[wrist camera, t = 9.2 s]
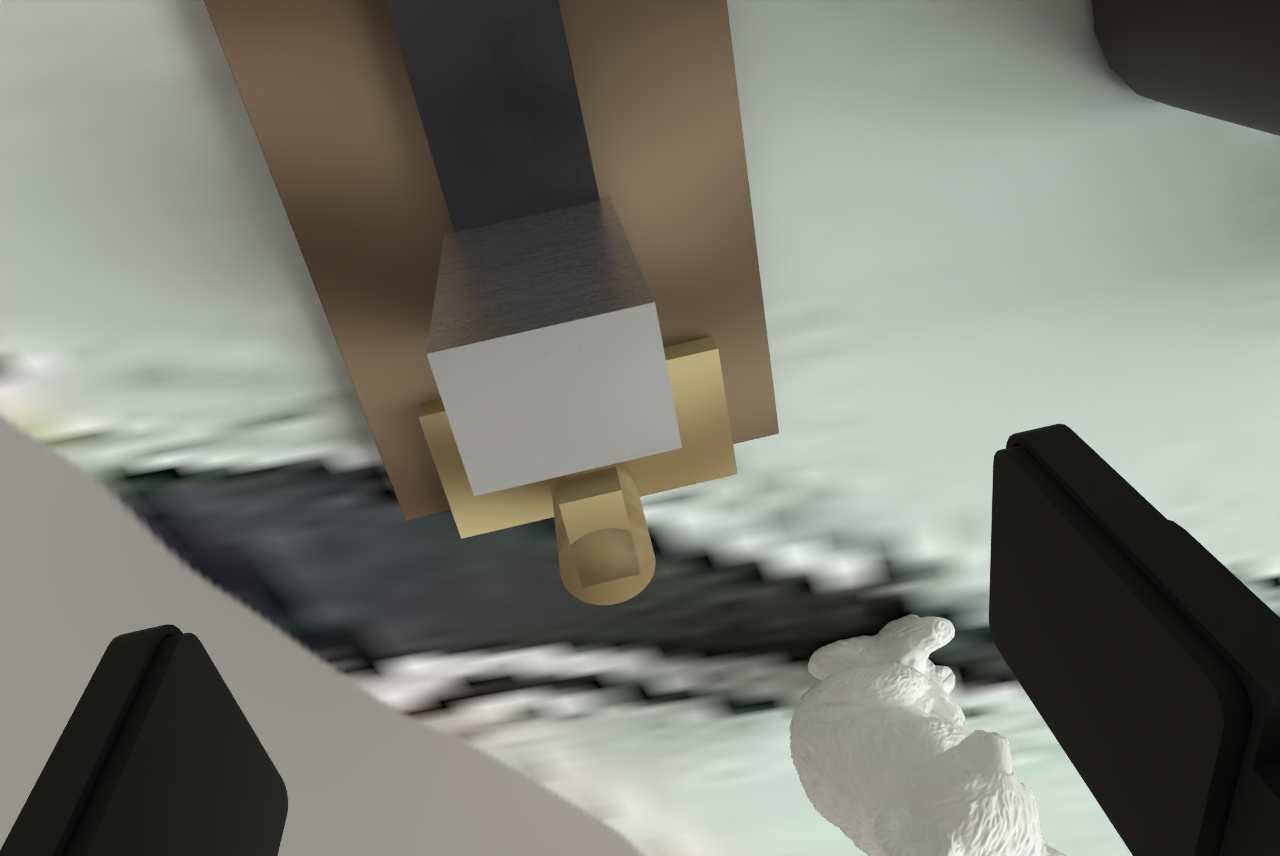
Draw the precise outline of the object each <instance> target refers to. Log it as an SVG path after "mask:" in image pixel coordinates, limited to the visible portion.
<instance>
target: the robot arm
mask: <svg viewBox="0 0 1280 856" xmlns="http://www.w3.org/2000/svg"><path fill="white" fill-rule="evenodd" d="M989 625H990V630H991V634H992V637H993V640H994V642H995V645H996V647H997V648H998V650H999V652H1000V654H1001V655H1002V657H1003V658H1004V660H1005V661H1006V663H1007V664H1008V666H1009V667H1010V669H1011V670H1012V672H1013V673H1014V675H1015V676H1016V678H1017V680H1018V681H1019V683H1020V684H1021V686H1022V687H1023V689H1024V690H1025V692H1026V693H1027V695H1028V696H1029V698H1030V699H1031V701H1032V702H1033V704H1034V705H1035V707H1036V709H1037V710H1038V712H1039V713H1040V715H1041V716H1042V718H1043V719H1044V721H1045V722H1046V724H1047V725H1048V727H1049V728H1050V730H1051V731H1052V733H1053V734H1054V736H1055V737H1056V739H1057V741H1058V742H1059V744H1060V745H1061V747H1062V748H1063V750H1064V751H1065V753H1066V754H1067V756H1068V757H1069V759H1070V760H1071V762H1072V763H1073V765H1074V766H1075V768H1076V769H1077V771H1078V773H1079V774H1080V776H1081V777H1082V779H1083V780H1084V782H1085V783H1086V785H1087V786H1088V788H1089V789H1090V791H1091V792H1092V794H1093V795H1094V797H1095V798H1096V800H1097V802H1098V803H1099V805H1100V806H1101V808H1102V809H1103V811H1104V812H1105V814H1106V815H1107V817H1108V818H1109V820H1110V821H1111V823H1112V824H1113V826H1114V827H1115V829H1116V830H1117V832H1118V834H1119V835H1120V837H1121V838H1122V840H1123V841H1124V843H1125V844H1126V846H1127V847H1128V849H1129V850H1130V852H1131V853H1132V855H1133V856H1280V617H1278V616H1277V615H1276V614H1275V613H1274V612H1273V611H1272V610H1271V609H1270V608H1269V607H1268V606H1267V605H1266V604H1265V603H1263V602H1262V601H1261V600H1260V599H1259V598H1258V597H1257V596H1256V595H1255V594H1254V593H1253V592H1252V591H1251V590H1249V589H1248V588H1247V587H1246V586H1245V585H1244V584H1243V583H1242V582H1241V581H1240V580H1239V579H1238V578H1237V577H1235V576H1234V575H1233V574H1232V573H1231V572H1230V571H1229V570H1228V569H1227V568H1226V567H1225V566H1224V565H1223V564H1221V563H1220V562H1219V561H1218V560H1217V559H1216V558H1215V557H1214V556H1213V555H1212V554H1211V553H1210V552H1209V551H1207V550H1206V549H1205V548H1204V547H1203V546H1202V545H1201V544H1200V543H1199V542H1198V541H1197V540H1196V539H1195V538H1194V537H1192V536H1191V535H1190V534H1189V533H1188V532H1187V531H1186V530H1185V529H1183V528H1182V527H1181V526H1179V525H1178V524H1176V523H1175V522H1174V521H1170V520H1167V519H1166V518H1165V517H1164V516H1163V515H1162V514H1161V513H1160V512H1159V511H1158V510H1156V509H1155V508H1154V507H1153V506H1152V505H1151V504H1150V503H1149V502H1148V501H1147V500H1146V499H1145V498H1144V497H1143V496H1142V495H1141V494H1139V493H1138V492H1137V491H1136V490H1135V489H1134V488H1133V487H1132V486H1131V485H1130V484H1129V483H1128V482H1127V481H1126V480H1125V479H1124V478H1122V477H1121V476H1120V475H1119V474H1118V473H1117V472H1116V471H1115V470H1114V469H1113V468H1112V467H1111V466H1110V465H1109V464H1108V463H1106V462H1105V461H1104V460H1103V459H1102V458H1101V457H1100V456H1099V455H1098V454H1097V453H1096V452H1095V451H1094V450H1093V449H1092V448H1091V447H1089V446H1088V445H1087V444H1086V443H1085V442H1084V441H1083V440H1082V439H1081V438H1080V437H1079V436H1078V435H1077V434H1076V433H1075V432H1073V431H1072V430H1071V429H1070V428H1069V427H1067V426H1066V425H1064V424H1056V425H1051V426H1047V427H1042V428H1038V429H1033V430H1029V431H1025V432H1020V433H1016V434H1013V435H1011V436H1010V437H1009V439H1008V441H1007V445H1006V449H1002V450H999V451H997V452H996V454H995V456H994V462H993V496H992V530H991V564H990V599H989ZM287 811H288V797H287V791H286V787H285V784H284V782H283V779H282V778H281V776H280V774H279V773H278V771H277V769H276V768H275V766H274V764H273V763H272V761H271V759H270V758H269V756H268V754H267V753H266V751H265V749H264V748H263V746H262V744H261V743H260V741H259V739H258V737H257V736H256V734H255V732H254V731H253V729H252V727H251V726H250V724H249V722H248V721H247V719H246V717H245V716H244V714H243V712H242V711H241V709H240V707H239V706H238V704H237V702H236V700H235V699H234V697H233V695H232V694H231V692H230V690H229V689H228V687H227V685H226V684H225V682H224V680H223V679H222V677H221V675H220V674H219V672H218V670H217V669H216V667H215V665H214V663H213V662H212V660H211V658H210V657H209V655H208V654H207V652H206V650H205V648H204V647H203V645H202V643H201V642H200V640H199V639H198V638H197V636H195V635H194V634H192V633H185V634H183V633H182V632H181V631H180V629H179V628H177V627H176V626H174V625H162V626H158V627H154V628H149V629H144V630H140V631H136V632H132V633H127V634H122V635H119V636H117V637H116V638H114V639H113V640H112V641H111V643H110V644H109V646H108V647H107V649H106V651H105V653H104V655H103V657H102V659H101V661H100V662H99V664H98V666H97V668H96V670H95V672H94V674H93V676H92V678H91V680H90V682H89V683H88V685H87V687H86V689H85V691H84V693H83V695H82V697H81V698H80V700H79V702H78V704H77V706H76V708H75V710H74V712H73V714H72V716H71V717H70V719H69V721H68V724H67V725H66V727H65V729H64V731H63V733H62V735H61V736H60V738H59V740H58V742H57V744H56V746H55V748H54V750H53V752H52V754H51V756H50V757H49V759H48V761H47V763H46V765H45V767H44V769H43V771H42V773H41V774H40V776H39V778H38V780H37V782H36V784H35V786H34V788H33V789H32V791H31V793H30V795H29V797H28V799H27V801H26V803H25V805H24V807H23V808H22V810H21V812H20V814H19V816H18V818H17V820H16V822H15V824H14V826H13V827H12V830H11V831H10V833H9V835H8V837H7V839H6V841H5V843H4V844H3V846H2V849H1V850H0V856H277V855H278V851H279V847H280V842H281V838H282V834H283V829H284V825H285V821H286V817H287Z"/></svg>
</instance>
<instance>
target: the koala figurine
mask: <svg viewBox="0 0 1280 856" xmlns="http://www.w3.org/2000/svg"><path fill="white" fill-rule="evenodd" d="M954 632H955V629H954V627H953V624H952V623H951V622H950V621H949V620H947V619H944V618H940V617H933V616H932V617H923V618H920V617H918V616H916V615H913V614H910V615H908V616H904V617H902V618H900V619H897V620H894V621H891V622H889V623H888V624H886V625H885V626H884V627H883V628H882V629H881V630H880V631H879V633H878V634H877V635H874V636H866V635H863V636H859V637H852V638H849V639H844V640H837V641H836V642H833V643H832V644H828V645H826V646H822V647H820V648H819V649H818V650H816V651H815V652H814V653H813V654H812V655H811V657H810V660H809V663H808V672H809V673H810V674H812V675H813V676H814V677H815V678H817V679H819V680H820V682H818V683H817V684H816V685H814V686H813V687H812V688H811V689H810V690H808V691H807V692H806V693H805V694H804V695H803V696H802V697H801V699H800V701H799V702H798V703H797V707H796V710H795V714H794V716H793V718H792V721H791V725H790V733H791V736H790V740H791V742H790V749H791V754H792V755H791V757H792V758H793V764H794V766H795V767H796V770H797V771H798V774H799V779H800V781H801V783H802V786H803V787H804V789H805V792H806V795H807V796H808V798H809V799H810V802H811V803H813V806H814V807H815V809H816V810H817V811H818V812H819V813H820V814H821V815H822V816H823V817H824V818H826V819H827V821H829V822H830V823H832V824H833V825H834V826H837V827H840V830H841V831H842V832H843V833H844V834H845V835H846V836H847V837H849V838H851V839H852V840H853V842H854V844H855V846H856V847H858V848H859V849H860V850H862V851H863V852H865V853H867V854H868V856H1065V855H1064V854H1063V853H1061V852H1059V851H1058V850H1056V849H1054V848H1053V847H1051V846H1049V845H1046V844H1044V841H1043V838H1042V834H1041V832H1040V820H1039V815H1038V809H1037V805H1036V803H1035V798H1034V796H1033V793H1032V791H1031V790H1030V788H1028V787H1027V786H1026V785H1025V784H1023V783H1021V782H1020V781H1019V779H1018V778H1017V777H1016V775H1015V773H1014V772H1013V770H1012V764H1011V755H1010V748H1009V743H1008V740H1007V739H1006V738H1005V737H1003V736H1001V735H1000V734H998V733H996V732H993V733H990V732H985V731H983V730H975V731H973V733H971V731H970V730H969V727H968V725H967V724H966V722H965V721H964V720H965V716H964V714H963V713H962V710H961V708H960V707H959V706H958V703H957V702H956V701H955V700H953V699H952V698H951V697H950V696H949V693H950V691H951V690H952V689H953V687H954V685H955V675H954V674H953V672H952V670H951V669H950V668H949V667H947V666H938V665H934V664H933V662H931V661H930V660H929V659H928V657H929V654H930V653H931V652H933V651H934V650H936V649H938V648H940V647H943V646H944V645H946V644H947V643H948V642H949V641H950V640H952V638H953V637H954Z"/></svg>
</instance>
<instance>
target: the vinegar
mask: <svg viewBox="0 0 1280 856" xmlns="http://www.w3.org/2000/svg"><path fill="white" fill-rule="evenodd" d="M1092 4H1093V18H1094V31H1095V34H1096V36H1097V39H1098V41H1099V43H1100V46H1101V48H1102V50H1103V53H1104V55H1105V58H1106V60H1107V62H1108V65H1109V67H1110V68H1111V69H1112V70H1113V71H1114V72H1115V73H1116V74H1118V75H1119V76H1120V77H1121V78H1122V79H1123V80H1124V81H1125V82H1126V83H1127V84H1128V85H1129V86H1130V87H1131V88H1132V89H1133V90H1134V91H1135V92H1136V93H1137V94H1139V95H1141V96H1144V97H1147V98H1150V99H1153V100H1156V101H1158V102H1161V103H1164V104H1167V105H1170V106H1173V107H1177V108H1180V109H1184V110H1188V111H1191V112H1195V113H1199V114H1202V115H1206V116H1210V117H1213V118H1217V119H1221V120H1224V121H1228V122H1232V123H1235V124H1239V125H1242V126H1246V127H1250V128H1253V129H1257V130H1261V131H1264V132H1268V133H1272V134H1275V135H1279V136H1280V0H1092Z"/></svg>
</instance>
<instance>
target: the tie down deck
mask: <svg viewBox="0 0 1280 856" xmlns="http://www.w3.org/2000/svg"><path fill="white" fill-rule="evenodd" d="M204 2H205V4H206V7H207V9H208V12H209V14H210V17H211V20H212V22H213V25H214V27H215V30H216V32H217V35H218V38H219V40H220V43H221V45H222V48H223V51H224V53H225V56H226V58H227V61H228V63H229V66H230V69H231V71H232V74H233V76H234V79H235V81H236V84H237V87H238V89H239V92H240V94H241V97H242V99H243V102H244V105H245V107H246V110H247V112H248V115H249V118H250V120H251V123H252V125H253V128H254V130H255V133H256V136H257V138H258V141H259V143H260V146H261V148H262V151H263V154H264V156H265V159H266V161H267V164H268V167H269V169H270V172H271V174H272V177H273V179H274V182H275V185H276V187H277V190H278V192H279V195H280V197H281V200H282V203H283V205H284V208H285V210H286V213H287V215H288V218H289V221H290V223H291V226H292V228H293V231H294V234H295V236H296V239H297V241H298V244H299V246H300V249H301V252H302V254H303V257H304V259H305V262H306V264H307V267H308V270H309V272H310V275H311V277H312V280H313V283H314V285H315V288H316V290H317V293H318V295H319V298H320V301H321V303H322V306H323V308H324V311H325V313H326V316H327V319H328V321H329V324H330V326H331V329H332V331H333V334H334V337H335V339H336V342H337V344H338V347H339V350H340V352H341V355H342V357H343V360H344V362H345V365H346V368H347V370H348V373H349V375H350V378H351V380H352V383H353V386H354V388H355V391H356V393H357V396H358V399H359V401H360V404H361V406H362V409H363V411H364V414H365V417H366V419H367V422H368V424H369V427H370V429H371V432H372V435H373V437H374V440H375V442H376V445H377V447H378V450H379V453H380V455H381V458H382V460H383V463H384V466H385V468H386V471H387V473H388V476H389V478H390V481H391V484H392V486H393V489H394V491H395V494H396V496H397V499H398V502H399V504H400V507H401V509H402V512H403V515H404V517H405V520H410V519H414V518H418V517H423V516H427V515H431V514H436V513H440V512H444V511H448V510H451V511H452V513H453V516H454V519H455V522H456V525H457V528H458V530H459V533H460V536H461V539H462V538H466V537H470V536H475V535H479V534H483V533H487V532H492V531H496V530H500V529H504V528H509V527H513V526H517V525H521V524H526V523H530V522H534V521H539V520H543V519H547V518H551V517H554V518H555V528H556V537H557V546H558V556H559V565H560V574H561V579H562V582H563V584H564V586H565V587H566V589H567V590H568V591H569V592H570V593H571V594H572V595H573V596H575V597H576V598H578V599H580V600H581V601H584V602H587V603H590V604H595V605H612V604H617V603H621V602H624V601H626V600H629V599H631V598H633V597H634V596H636V595H637V594H639V593H640V592H641V591H642V590H643V589H644V588H645V587H646V586H647V585H648V583H649V582H650V580H651V579H652V577H653V574H654V571H655V556H654V552H653V548H652V544H651V540H650V536H649V532H648V528H647V524H646V521H645V517H644V513H643V509H642V505H641V501H640V497H641V496H645V495H649V494H654V493H658V492H662V491H666V490H671V489H675V488H679V487H683V486H688V485H692V484H696V483H701V482H705V481H709V480H713V479H718V478H722V477H726V476H730V475H735V474H737V468H736V462H735V455H734V449H733V444H736V443H740V442H744V441H748V440H753V439H757V438H761V437H766V436H770V435H774V434H778V433H779V429H778V421H777V413H776V405H775V396H774V388H773V380H772V372H771V363H770V355H769V347H768V339H767V330H766V322H765V314H764V306H763V297H762V289H761V281H760V273H759V264H758V256H757V248H756V240H755V232H754V223H753V215H752V207H751V199H750V190H749V182H748V174H747V166H746V157H745V149H744V141H743V133H742V124H741V116H740V108H739V100H738V92H737V83H736V75H735V67H734V59H733V50H732V42H731V34H730V26H729V17H728V9H727V1H726V0H559V4H560V9H561V14H562V19H563V24H564V29H565V33H566V38H567V43H568V48H569V53H570V58H571V62H572V67H573V72H574V77H575V82H576V87H577V91H578V96H579V101H580V106H581V111H582V116H583V120H584V125H585V130H586V135H587V140H588V145H589V149H590V154H591V159H592V164H593V169H594V174H595V178H596V183H597V188H598V193H599V198H600V197H604V196H610V198H611V201H612V203H613V205H614V208H615V210H616V212H617V215H618V217H619V219H620V222H621V224H622V226H623V229H624V231H625V233H626V236H627V238H628V240H629V243H630V245H631V247H632V250H633V252H634V254H635V257H636V259H637V261H638V264H639V266H640V268H641V271H642V273H643V275H644V278H645V280H646V282H647V285H648V287H649V289H650V292H651V294H652V296H653V299H654V301H655V305H656V310H657V316H658V321H659V326H660V332H661V337H662V342H663V348H664V353H665V358H666V364H667V369H668V375H669V380H670V385H671V391H672V396H673V401H674V407H675V412H676V417H677V423H678V428H679V434H680V439H681V444H682V448H680V449H675V450H671V451H667V452H663V453H658V454H654V455H650V456H645V457H641V458H637V459H633V460H628V461H624V462H620V463H615V464H611V465H607V466H603V467H598V468H594V469H590V470H585V471H581V472H577V473H573V474H568V475H564V476H560V477H555V478H551V479H547V480H542V481H538V482H534V483H530V484H525V485H521V486H517V487H512V488H508V489H504V490H500V491H495V492H491V493H487V494H482V495H478V496H474V495H473V492H472V489H471V486H470V483H469V480H468V477H467V474H466V471H465V468H464V465H463V462H462V459H461V456H460V453H459V450H458V447H457V444H456V441H455V438H454V435H453V432H452V429H451V426H450V423H449V420H448V417H447V414H446V411H445V408H444V405H443V402H442V399H441V396H440V393H439V390H438V387H437V384H436V381H435V378H434V375H433V372H432V369H431V366H430V363H429V360H428V357H427V347H428V340H429V334H430V327H431V320H432V313H433V307H434V300H435V293H436V286H437V280H438V273H439V266H440V259H441V253H442V246H443V239H444V233H445V232H447V231H452V230H454V229H453V226H452V223H451V219H450V216H449V212H448V209H447V206H446V202H445V199H444V195H443V192H442V189H441V185H440V182H439V178H438V175H437V172H436V168H435V165H434V162H433V158H432V155H431V151H430V148H429V145H428V141H427V138H426V134H425V131H424V128H423V124H422V121H421V118H420V114H419V111H418V107H417V104H416V101H415V97H414V94H413V90H412V87H411V84H410V80H409V77H408V73H407V70H406V67H405V63H404V60H403V57H402V53H401V50H400V46H399V43H398V40H397V36H396V33H395V29H394V26H393V23H392V19H391V16H390V12H389V9H388V6H387V2H386V0H204Z"/></svg>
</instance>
